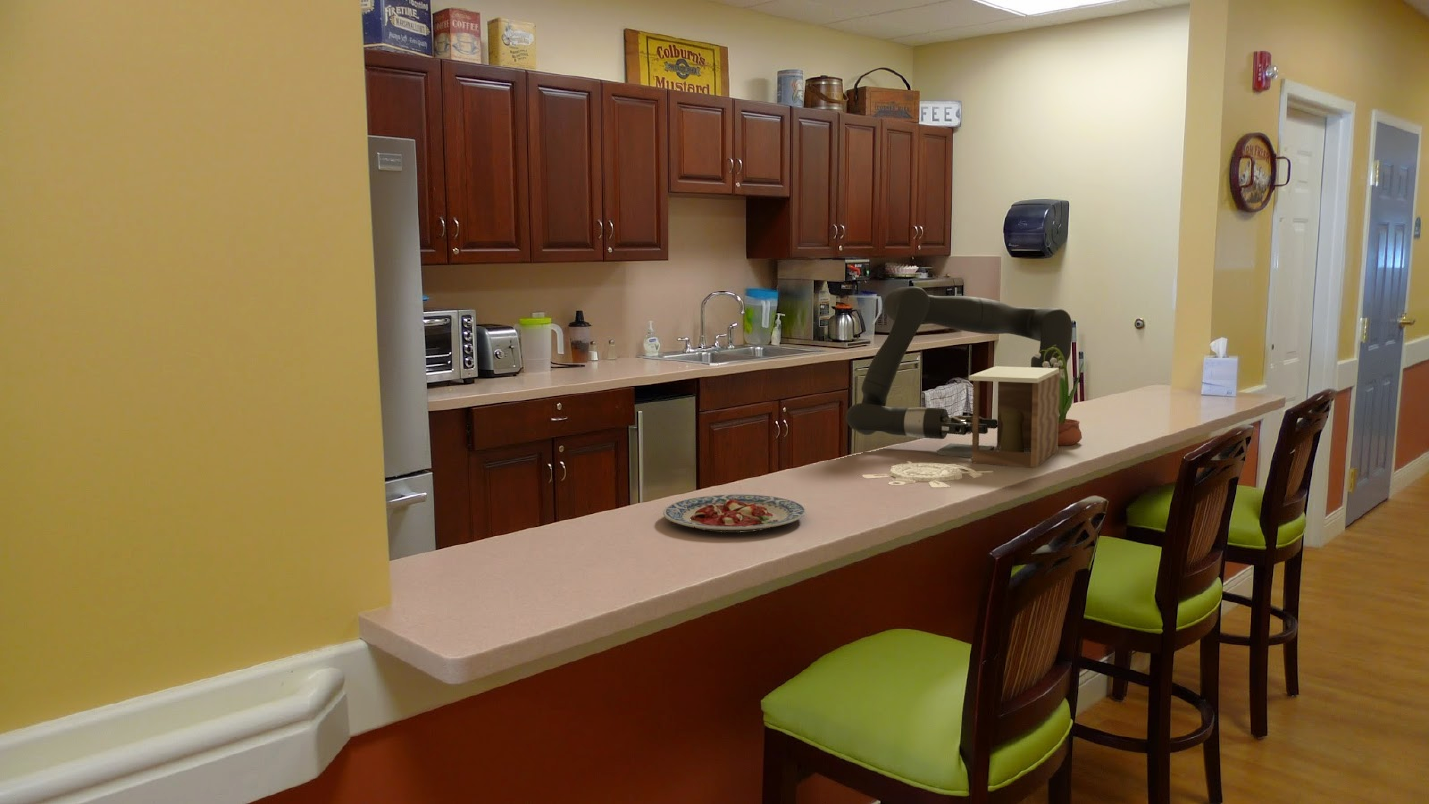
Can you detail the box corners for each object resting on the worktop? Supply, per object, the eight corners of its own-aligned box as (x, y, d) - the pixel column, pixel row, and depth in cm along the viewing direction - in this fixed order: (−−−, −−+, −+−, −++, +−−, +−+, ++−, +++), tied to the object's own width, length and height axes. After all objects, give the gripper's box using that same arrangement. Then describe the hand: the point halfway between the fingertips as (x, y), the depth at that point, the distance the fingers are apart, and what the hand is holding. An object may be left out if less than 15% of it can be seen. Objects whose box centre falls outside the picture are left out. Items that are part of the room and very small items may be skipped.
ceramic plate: (635, 520, 188) (635, 504, 187) (744, 499, 203) (744, 484, 203) (721, 549, 167) (721, 531, 167) (835, 523, 183) (835, 507, 182)
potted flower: (1032, 445, 255) (1034, 345, 252) (1031, 439, 265) (1034, 342, 261) (1082, 447, 252) (1085, 346, 248) (1080, 440, 261) (1083, 343, 258)
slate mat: (950, 447, 255) (950, 443, 255) (994, 450, 250) (994, 446, 249) (936, 454, 245) (936, 450, 245) (982, 458, 240) (982, 453, 240)
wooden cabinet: (994, 445, 256) (995, 366, 253) (1057, 450, 249) (1059, 368, 246) (967, 462, 235) (968, 375, 233) (1036, 467, 228) (1038, 378, 225)
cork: (1006, 452, 246) (1007, 407, 245) (1029, 455, 242) (1030, 409, 241) (993, 456, 242) (994, 410, 241) (1016, 459, 238) (1017, 412, 237)
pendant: (1000, 472, 227) (1000, 465, 226) (938, 494, 206) (938, 487, 205) (915, 461, 241) (915, 455, 240) (848, 481, 220) (848, 475, 219)
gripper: (917, 411, 245) (984, 415, 237) (935, 404, 257) (1000, 407, 249) (916, 442, 246) (984, 446, 238) (935, 433, 258) (999, 437, 250)
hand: (992, 426), depth 244 cm, fingers open, 8 cm apart
